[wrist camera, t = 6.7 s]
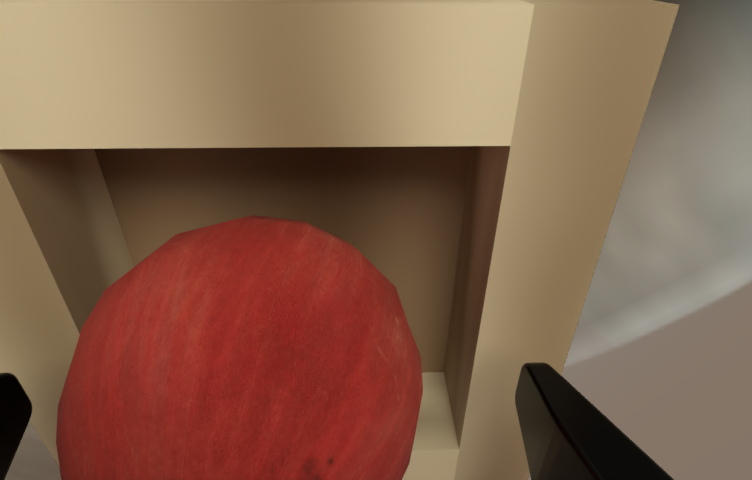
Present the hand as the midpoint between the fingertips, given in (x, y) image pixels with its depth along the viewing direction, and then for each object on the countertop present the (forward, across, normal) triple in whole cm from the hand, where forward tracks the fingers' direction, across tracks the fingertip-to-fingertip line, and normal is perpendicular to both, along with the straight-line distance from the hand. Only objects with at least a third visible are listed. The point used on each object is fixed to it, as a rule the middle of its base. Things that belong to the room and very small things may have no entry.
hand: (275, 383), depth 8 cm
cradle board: (+5, 0, 0) cm, 5 cm away
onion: (+4, 0, 0) cm, 4 cm away
